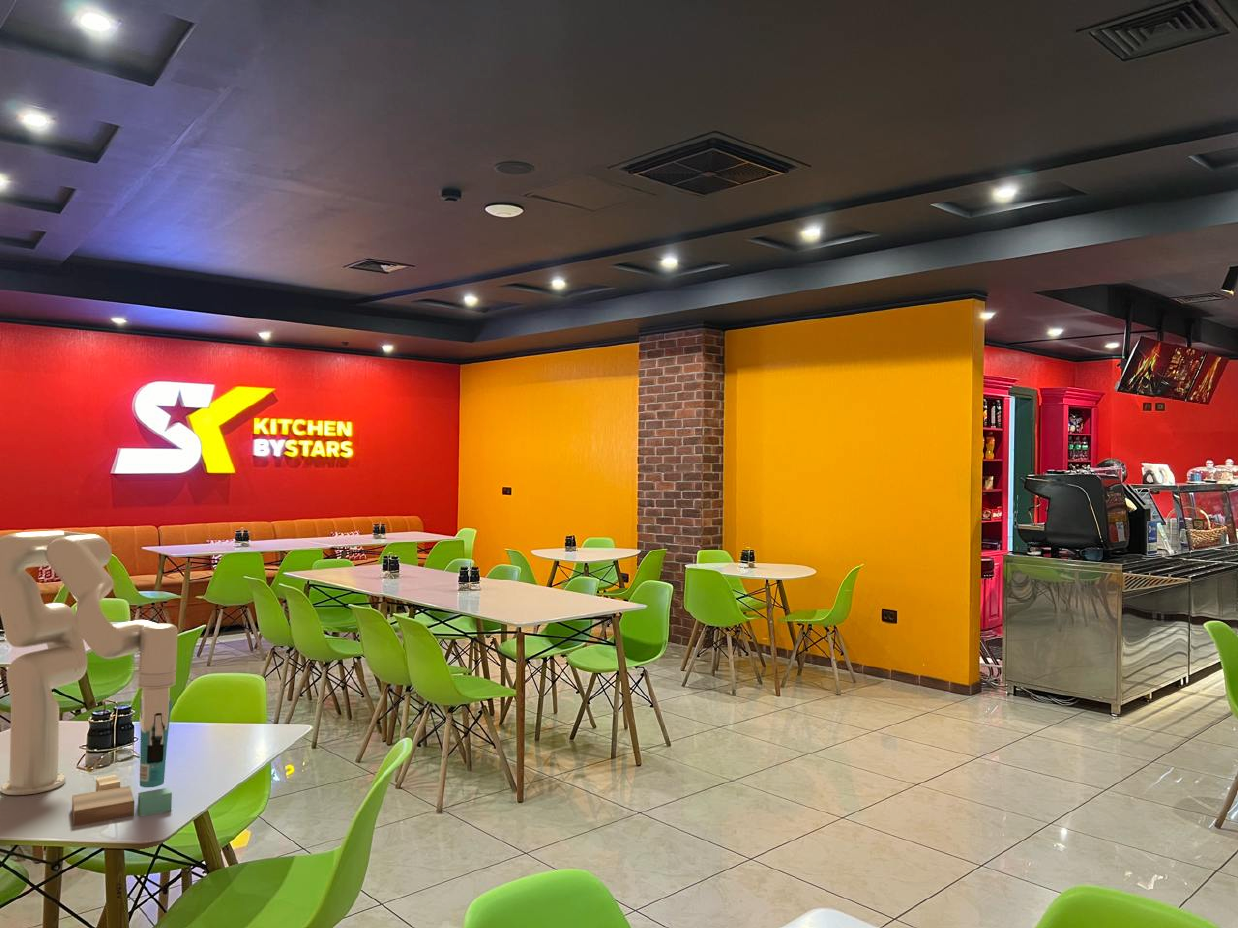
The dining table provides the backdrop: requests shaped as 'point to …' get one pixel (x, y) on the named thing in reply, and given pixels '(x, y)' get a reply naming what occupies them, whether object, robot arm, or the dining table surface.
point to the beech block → (107, 783)
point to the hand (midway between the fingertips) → (153, 757)
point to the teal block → (154, 801)
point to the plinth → (102, 805)
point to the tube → (154, 771)
